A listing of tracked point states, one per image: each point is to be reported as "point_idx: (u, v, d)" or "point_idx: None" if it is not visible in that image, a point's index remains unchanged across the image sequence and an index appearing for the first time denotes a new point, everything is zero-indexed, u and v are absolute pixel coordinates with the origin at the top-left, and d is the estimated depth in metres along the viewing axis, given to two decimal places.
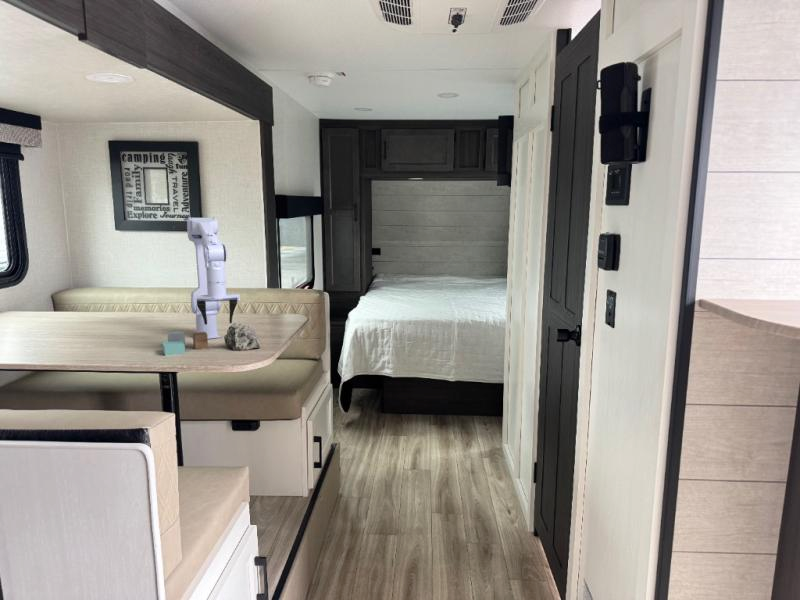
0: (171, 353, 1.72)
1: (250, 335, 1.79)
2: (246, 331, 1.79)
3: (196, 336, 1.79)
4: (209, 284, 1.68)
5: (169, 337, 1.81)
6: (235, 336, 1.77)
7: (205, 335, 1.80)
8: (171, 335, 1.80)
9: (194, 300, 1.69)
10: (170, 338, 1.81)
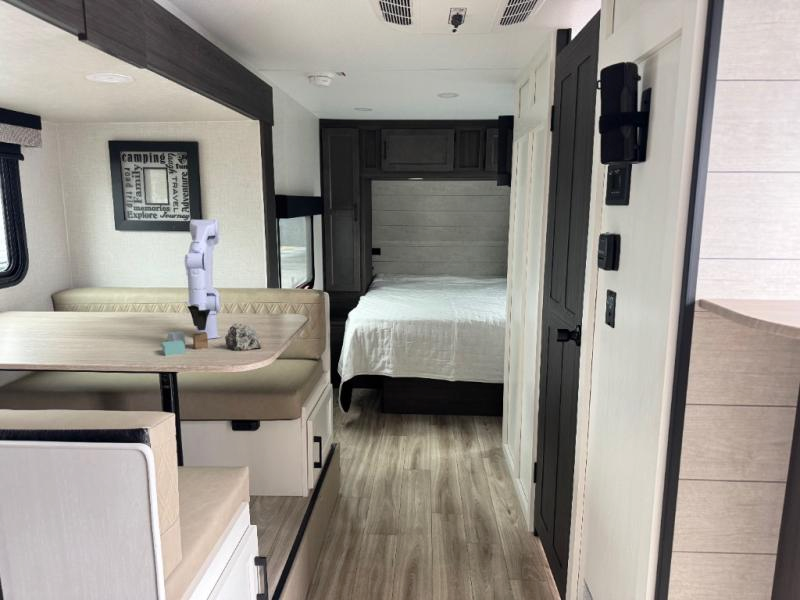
0: (171, 353, 1.72)
1: (251, 335, 1.79)
2: (247, 331, 1.78)
3: (196, 336, 1.79)
4: None
5: (169, 337, 1.81)
6: (236, 336, 1.77)
7: (205, 335, 1.80)
8: (171, 335, 1.80)
9: None
10: (170, 338, 1.81)
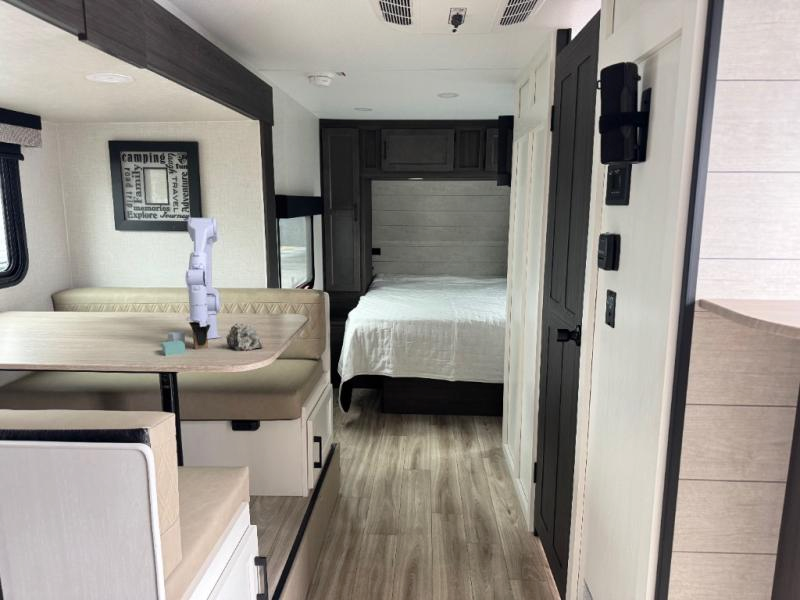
0: (171, 353, 1.72)
1: (252, 335, 1.79)
2: (248, 331, 1.78)
3: None
4: None
5: (169, 337, 1.81)
6: (238, 336, 1.77)
7: None
8: (171, 335, 1.80)
9: None
10: (170, 338, 1.81)
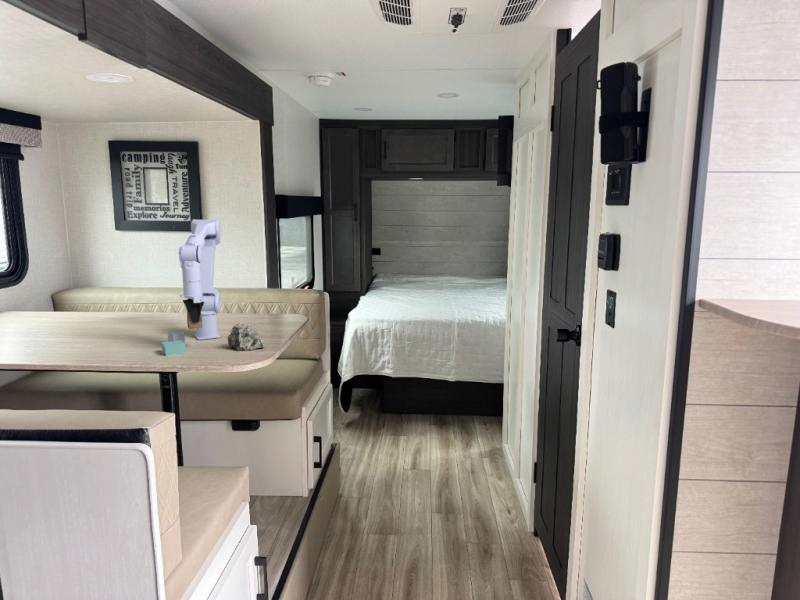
0: (172, 353, 1.72)
1: (253, 335, 1.79)
2: (250, 331, 1.78)
3: None
4: None
5: (169, 337, 1.81)
6: (239, 336, 1.77)
7: None
8: (171, 335, 1.80)
9: None
10: (170, 338, 1.81)
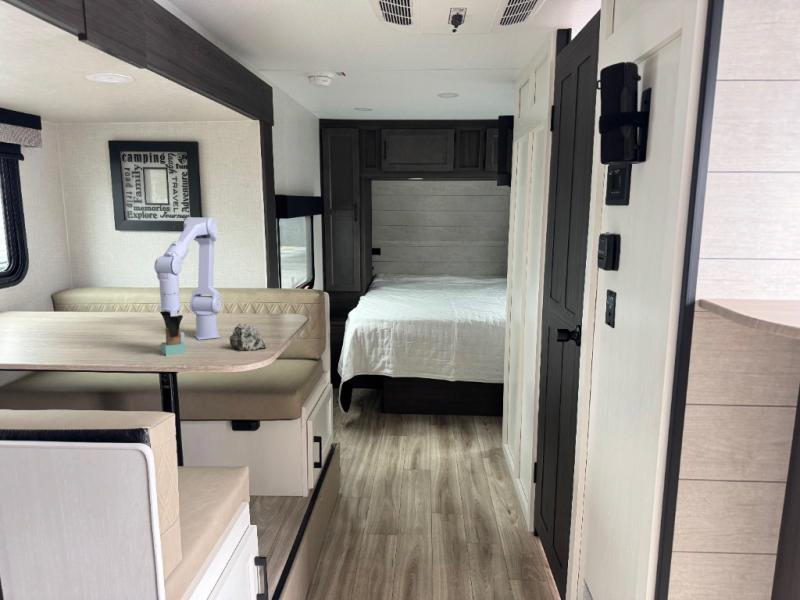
0: (172, 353, 1.72)
1: (256, 335, 1.78)
2: (252, 331, 1.78)
3: (168, 331, 1.71)
4: None
5: None
6: (241, 336, 1.76)
7: None
8: None
9: None
10: None
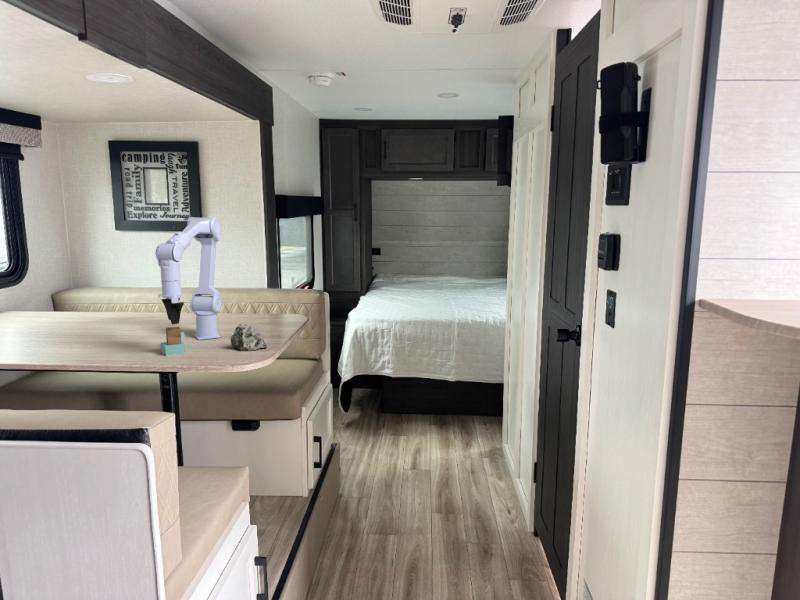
0: (172, 353, 1.72)
1: (257, 335, 1.78)
2: (253, 331, 1.78)
3: (169, 331, 1.71)
4: None
5: None
6: (243, 336, 1.76)
7: (178, 330, 1.73)
8: None
9: None
10: None
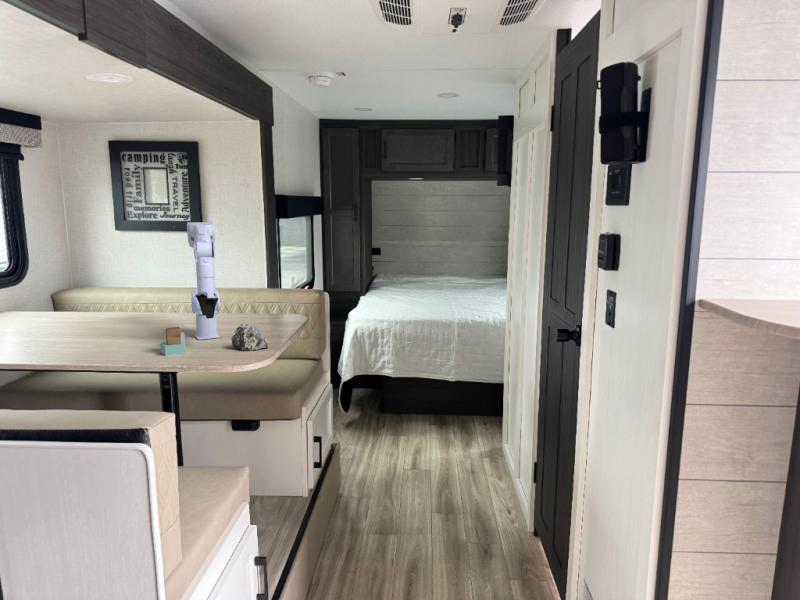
0: (171, 353, 1.72)
1: (258, 335, 1.79)
2: (254, 331, 1.78)
3: (168, 331, 1.71)
4: None
5: None
6: (244, 336, 1.76)
7: (178, 330, 1.73)
8: None
9: None
10: None
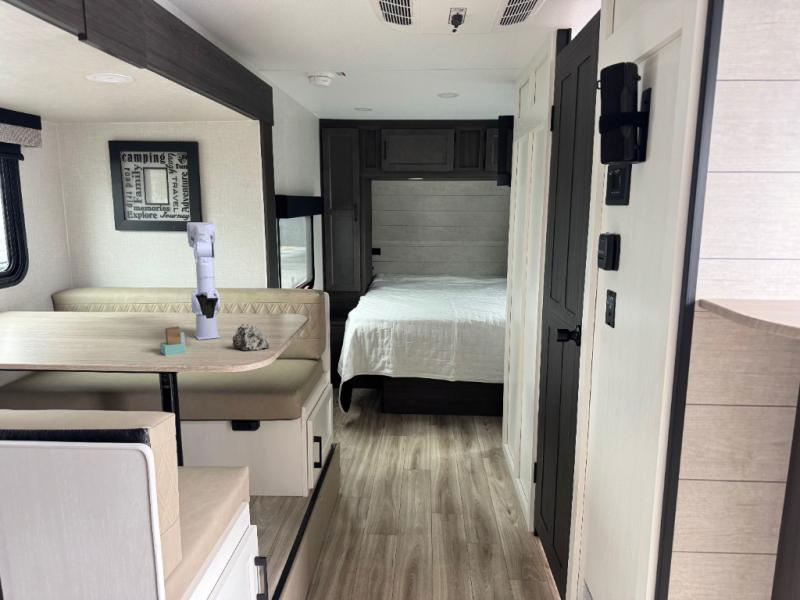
0: (171, 353, 1.72)
1: (259, 335, 1.79)
2: (255, 331, 1.78)
3: (168, 331, 1.71)
4: None
5: None
6: (245, 337, 1.76)
7: (178, 330, 1.73)
8: None
9: None
10: None
